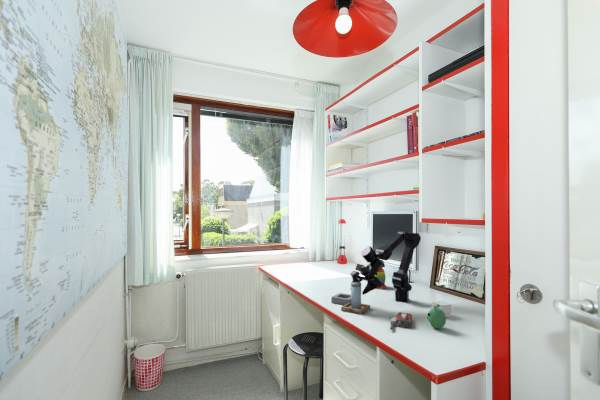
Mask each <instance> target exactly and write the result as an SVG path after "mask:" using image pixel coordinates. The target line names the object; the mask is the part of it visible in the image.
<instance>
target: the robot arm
mask: <svg viewBox="0 0 600 400" xmlns="http://www.w3.org/2000/svg"><path fill="white" fill-rule="evenodd" d="M421 239H422V237H421V235H420V234H419V233H418V232H407V231H401V230H400V231H398V232H397V233H396V235H394V237H392V238H391V240H389V241H388V242H387V243H385V244H384V245H382V246H380V247H378V248H377V249H375V250H374V249H373V247H372V246H366V247H365V248H363V249H362V250H361V251H360V256H361V257H362V258H363V259H364V260H365V261H366V262H367V263H368V264H365V265H363V264H360V263H356V266H355V270H352V271H351V272H350V275H351V278H352V281H351V283H352V282H359V283H361V282H362V281H366V282H367V284H366V285H365V287H364V289H363V290H362V291H361V295H363V296H364V295H366V294H368V293H370V292H371V291H374V290H376V289H378V288H380V287H381V285H382V282H381V281H380V280H379V279H378V278H377V277H375V275H378V273H377V272H378V270H379V269H380V267H383V268H385V262H384V261H388V260H389V259H390V258H391V256H392V255H393V251H394V250H395V249H396V248H398V246H399V245H400V244H402V242H404V246H405V247H404V249H403V253H402V258H401V261H400V264H399V267H398V270H397V271H394V272H393V273H392V277H391V283H392V287H393V289H395V292H394V297H395V299H394V300H395V301H398V302H403V303H408V302H409V301H410V300H411V299H410V291H411V290H412V287H413V285H411V283H410V282H409V280H410V279H409V274H408V272H409V269H410V267H411V266H410V265H411V262H412V258H413V254H414V252H415V249H416V248H417V247H418V246H419V244H420V242H421ZM381 260H383V262H382V261H381ZM361 284H362V283H361Z"/></svg>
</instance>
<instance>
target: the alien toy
mask: <svg viewBox="0 0 600 400" xmlns="http://www.w3.org/2000/svg"><path fill="white" fill-rule="evenodd" d="M437 306H438V308H437ZM437 306H434V308H433V309H432V308H431V309H430V310H429V311H428V313H427V316H426V319H427V320H428V322H429V324H430V326H431V327H433V329H438V330H440V329H442V328H444V326H445V325H446V322H447V317H446V316H445V314H444V312H443V311H442V310H441V309H439V306H440V305H439V304H437Z"/></svg>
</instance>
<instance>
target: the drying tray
mask: <svg viewBox="0 0 600 400" xmlns="http://www.w3.org/2000/svg"><path fill="white" fill-rule="evenodd" d="M370 309H371V305H370V304H367V303H365V304H364V303H361V309H353V308H351V302H349V303H347V304H346V305H342V306H341V308H340V311H342V312H348V313H352V314H357V315H363V314H365V313H366V312H368V311H369V310H370Z"/></svg>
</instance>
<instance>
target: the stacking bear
mask: <svg viewBox="0 0 600 400" xmlns="http://www.w3.org/2000/svg"><path fill="white" fill-rule="evenodd" d="M380 260H381V261H382V262H384V260H382V259H380ZM383 268H384V267H380V269H379V270H378V272H377V273H378V275H375V277H377V278H378V279H379V280H380V281H381V282H382V285H381V287H380V288H377V290H378V289H380V290H387V285H386V284H385V283H386V279H387V276H386V272H385V269H383Z"/></svg>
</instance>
